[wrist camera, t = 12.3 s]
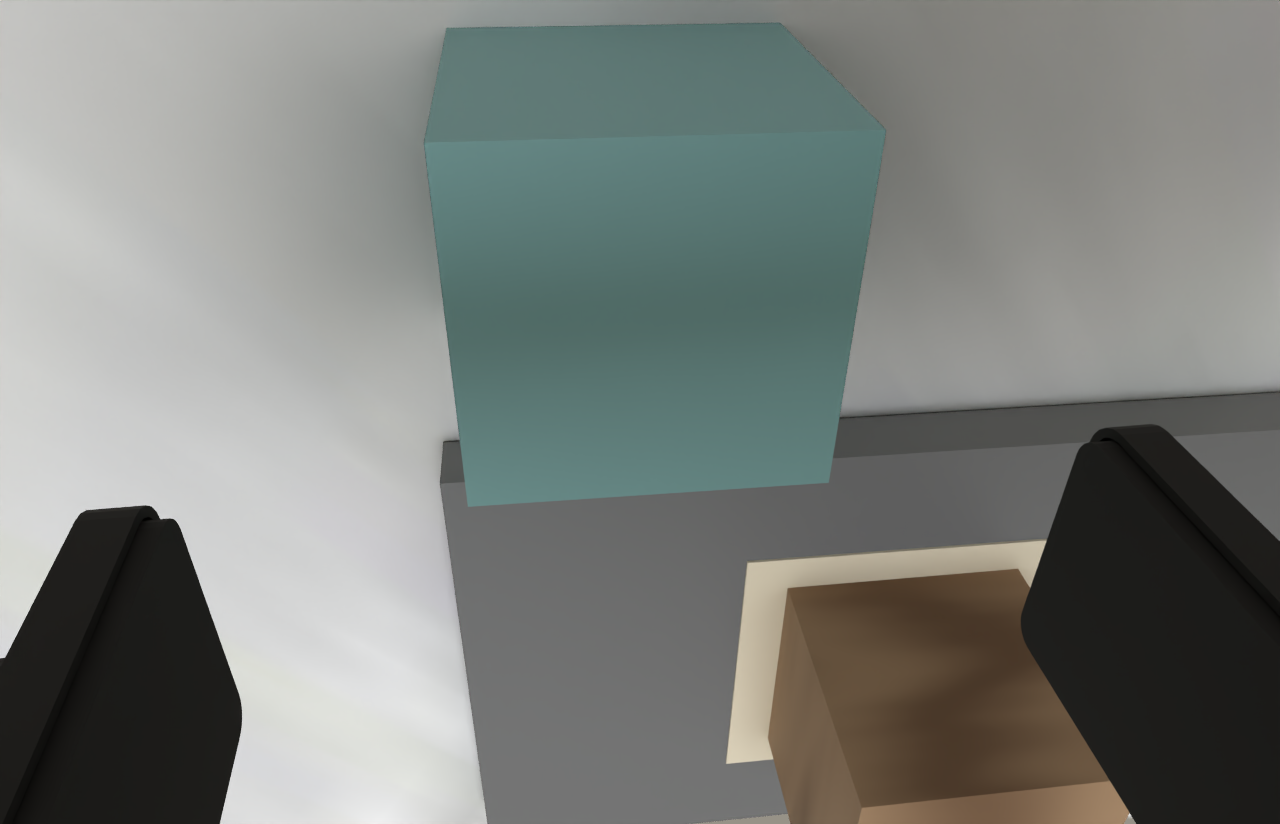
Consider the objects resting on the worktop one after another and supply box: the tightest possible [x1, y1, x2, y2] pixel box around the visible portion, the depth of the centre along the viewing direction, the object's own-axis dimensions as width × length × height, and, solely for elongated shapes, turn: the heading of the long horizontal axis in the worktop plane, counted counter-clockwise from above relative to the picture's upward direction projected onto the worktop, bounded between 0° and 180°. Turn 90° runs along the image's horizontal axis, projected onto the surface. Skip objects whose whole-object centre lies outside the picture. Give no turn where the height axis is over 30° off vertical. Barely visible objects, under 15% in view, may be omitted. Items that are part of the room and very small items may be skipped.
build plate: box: [440, 392, 1280, 824], centre depth 26 cm, size 22×14×2 cm, turn 89°
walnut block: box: [768, 569, 1129, 824], centre depth 23 cm, size 6×6×6 cm
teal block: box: [424, 23, 886, 507], centre depth 16 cm, size 6×6×6 cm
